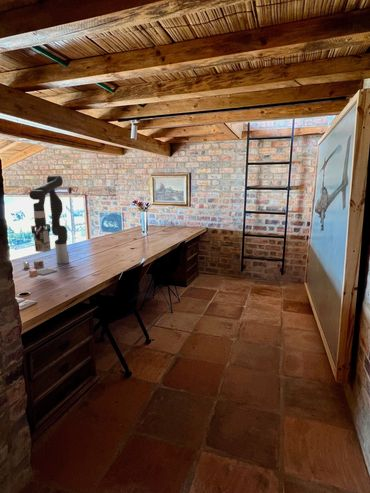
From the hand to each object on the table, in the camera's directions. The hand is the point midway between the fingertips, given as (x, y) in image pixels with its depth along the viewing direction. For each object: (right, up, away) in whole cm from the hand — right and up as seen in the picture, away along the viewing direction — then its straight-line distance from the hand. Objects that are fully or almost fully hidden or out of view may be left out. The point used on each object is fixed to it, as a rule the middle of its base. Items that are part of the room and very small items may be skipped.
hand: (42, 238), depth 214 cm
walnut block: (-13, -23, +21) cm, 34 cm away
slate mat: (0, -27, +5) cm, 27 cm away
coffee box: (0, -10, +2) cm, 10 cm away
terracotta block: (-5, -28, -2) cm, 29 cm away
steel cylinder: (-21, -24, +16) cm, 36 cm away
